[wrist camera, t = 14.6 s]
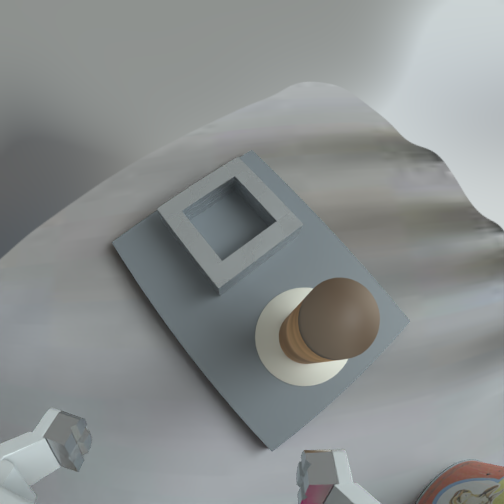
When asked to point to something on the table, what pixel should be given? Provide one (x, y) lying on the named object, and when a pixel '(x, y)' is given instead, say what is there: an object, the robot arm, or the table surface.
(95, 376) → the table surface
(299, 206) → the base plate
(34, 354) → the table surface
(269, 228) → the collar
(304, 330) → the plug
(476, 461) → the canned food
